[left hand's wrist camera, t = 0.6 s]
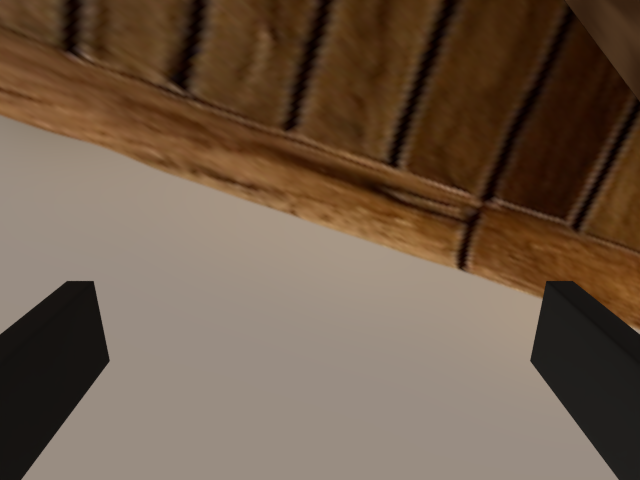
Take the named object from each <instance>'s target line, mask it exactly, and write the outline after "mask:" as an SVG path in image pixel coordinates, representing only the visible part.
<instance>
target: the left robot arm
mask: <svg viewBox="0 0 640 480" xmlns="http://www.w3.org/2000/svg"><path fill="white" fill-rule="evenodd" d="M109 361H110V360H109V355H108V350H107V345H106V340H105V335H104V330H103V325H102V320H101V315H100V311H99V306H98V301H97V296H96V291H95V286H94V281H67V282H65V283H64V284H63V285H62V286H60V287H59V288H58V289H57V290H55V291H54V292H53V293H52V294H50V295H49V296H48V297H47V298H45V299H44V300H43V301H42V302H40V303H39V304H38V305H37V306H35V307H34V308H33V309H32V310H30V311H29V312H28V313H27V314H25V315H24V316H23V317H22V318H20V319H19V320H18V321H17V322H15V323H14V324H13V325H12V326H10V327H9V328H8V329H7V330H5V331H4V332H3V333H2V334H0V480H21V479H22V478H23V476H24V475H25V474H26V472H27V471H28V470H29V468H30V467H31V466H32V464H33V463H34V462H35V460H36V459H37V458H38V456H39V455H40V454H41V452H42V451H43V450H44V448H45V447H46V446H47V444H48V443H49V442H50V440H51V439H52V438H53V436H54V435H55V434H56V432H57V431H58V430H59V428H60V427H61V425H62V424H63V423H64V422H65V420H66V419H67V418H68V416H69V415H70V414H71V412H72V411H73V409H74V408H75V407H76V405H77V404H78V403H79V401H80V400H81V399H82V397H83V396H84V395H85V393H86V392H87V391H88V389H89V388H90V387H91V385H92V384H93V383H94V381H95V380H96V379H97V377H98V376H99V375H100V373H101V372H102V371H103V369H104V368H105V367H106V365H107V364H108V363H109ZM530 361H531V363H532V364H533V365H534V367H535V368H536V369H537V371H538V372H539V373H540V375H541V376H542V377H543V379H544V380H545V381H546V383H547V384H548V385H549V387H550V388H551V389H552V391H553V392H554V393H555V395H556V396H557V397H558V399H559V400H560V401H561V403H562V404H563V405H564V407H565V408H566V409H567V411H568V412H569V414H570V415H571V416H572V417H573V419H574V420H575V422H576V423H577V424H578V426H579V427H580V428H581V430H582V431H583V432H584V433H585V435H586V436H587V438H588V439H589V440H590V442H591V443H592V444H593V446H594V447H595V448H596V450H597V451H598V452H599V454H600V455H601V456H602V458H603V459H604V460H605V462H606V463H607V464H608V466H609V467H610V468H611V470H612V471H613V472H614V474H615V475H616V476H617V478H618V479H619V480H640V334H638V333H637V332H636V331H635V330H633V329H632V328H631V327H630V326H628V325H627V324H626V323H625V322H623V321H622V320H621V319H620V318H618V317H617V316H616V315H615V314H613V313H612V312H611V311H610V310H608V309H607V308H606V307H605V306H603V305H602V304H601V303H600V302H598V301H597V300H596V299H595V298H593V297H592V296H591V295H590V294H588V293H587V292H586V291H585V290H583V289H582V288H581V287H580V286H578V285H577V284H576V283H575V282H573V281H546V286H545V291H544V296H543V301H542V306H541V310H540V315H539V320H538V325H537V330H536V335H535V340H534V345H533V350H532V355H531V360H530Z"/></svg>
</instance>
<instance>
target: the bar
mask: <svg viewBox="0 0 640 480" xmlns="http://www.w3.org/2000/svg"><path fill="white" fill-rule="evenodd" d="M565 1H566V3H567V4H568V5H569V7H570V8H571V9H572V11H573V12H574V13H575V15H576V16H577V18H578V19H579V20H580V22H581V23H582V24H583V26H584V27H585V28H586V30H587V31H588V32H589V34H590V35H591V36H592V38H593V39H594V40H595V42H596V43H597V44H598V46H599V47H600V49H601V50H602V51H603V53H604V54H605V55H606V57H607V58H608V59H609V61H610V62H611V63H612V65H613V66H614V67H615V69H616V70H617V71H618V73H619V74H620V76H621V77H622V78H623V80H624V81H625V82H626V84H627V85H628V86H629V88H630V89H631V90H632V92H633V93H634V94H635V96H636V97H637V98H638V100H639V101H640V0H565Z"/></svg>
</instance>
